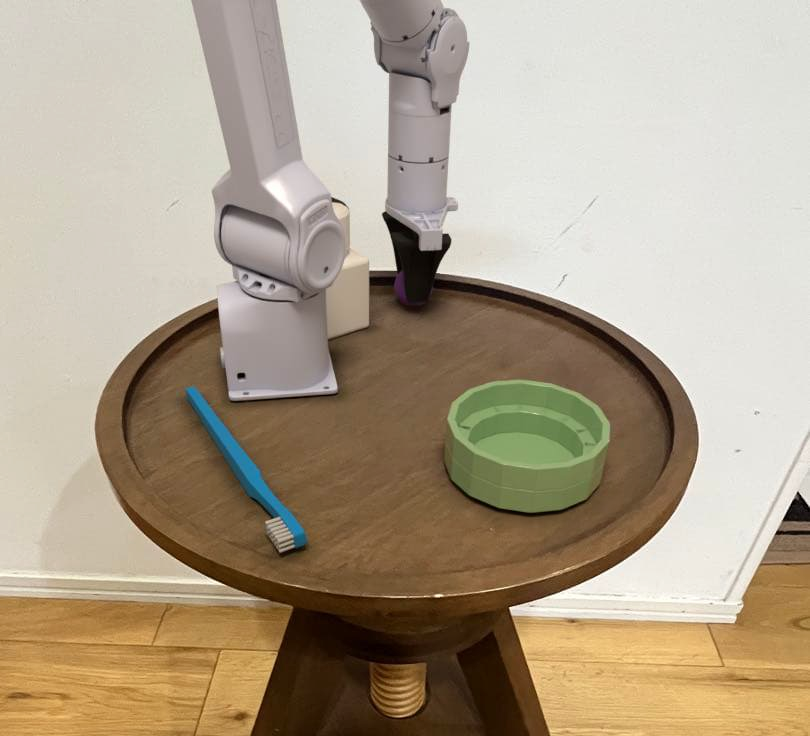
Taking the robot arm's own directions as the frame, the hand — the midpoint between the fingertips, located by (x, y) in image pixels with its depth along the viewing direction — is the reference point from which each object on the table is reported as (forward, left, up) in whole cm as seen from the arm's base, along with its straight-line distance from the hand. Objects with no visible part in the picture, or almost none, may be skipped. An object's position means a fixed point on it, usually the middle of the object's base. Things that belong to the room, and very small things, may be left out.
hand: (413, 291), depth 88 cm
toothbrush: (-18, -26, 0) cm, 32 cm away
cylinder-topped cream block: (-10, -3, -2) cm, 11 cm away
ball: (0, 0, +1) cm, 1 cm away
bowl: (+3, -30, -1) cm, 30 cm away
